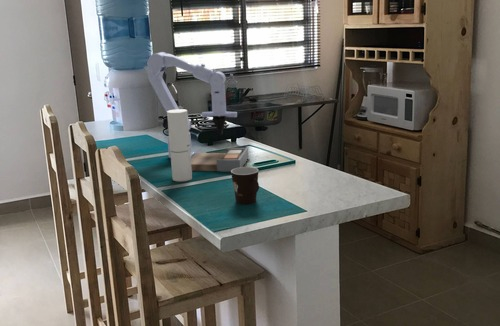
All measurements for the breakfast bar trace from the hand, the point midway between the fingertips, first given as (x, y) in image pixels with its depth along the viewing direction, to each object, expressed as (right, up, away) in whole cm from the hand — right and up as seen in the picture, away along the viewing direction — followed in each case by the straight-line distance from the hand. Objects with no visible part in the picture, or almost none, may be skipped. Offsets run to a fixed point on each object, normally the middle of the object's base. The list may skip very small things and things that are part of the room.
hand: (220, 134), depth 223 cm
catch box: (+5, -13, -12) cm, 18 cm away
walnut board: (-5, -13, -10) cm, 17 cm away
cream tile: (+6, -10, -9) cm, 15 cm away
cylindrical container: (-12, -18, -27) cm, 34 cm away
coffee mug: (+11, -25, -54) cm, 61 cm away
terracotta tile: (+5, -12, -16) cm, 21 cm away
